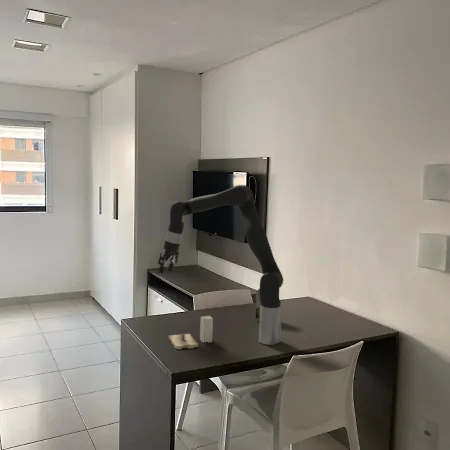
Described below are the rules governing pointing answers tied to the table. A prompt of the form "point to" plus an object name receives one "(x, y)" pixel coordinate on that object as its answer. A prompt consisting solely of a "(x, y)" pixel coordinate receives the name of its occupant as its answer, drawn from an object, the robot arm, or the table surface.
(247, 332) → the table surface
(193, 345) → the pin dock
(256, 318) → the coffee box
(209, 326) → the block
